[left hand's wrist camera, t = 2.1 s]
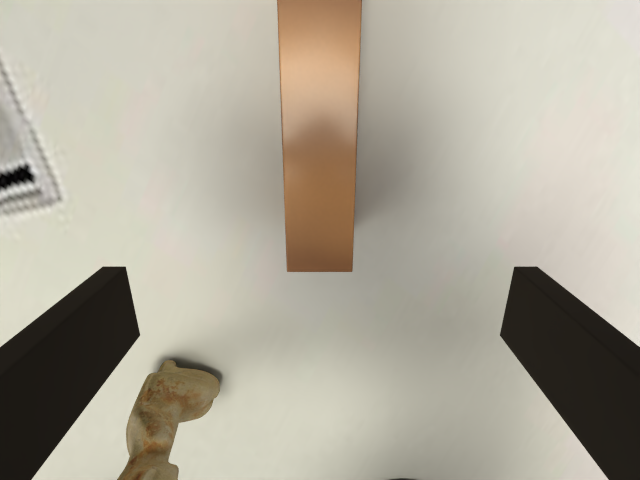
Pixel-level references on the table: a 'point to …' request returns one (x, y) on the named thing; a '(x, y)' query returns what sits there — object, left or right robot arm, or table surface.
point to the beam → (319, 130)
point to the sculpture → (164, 418)
